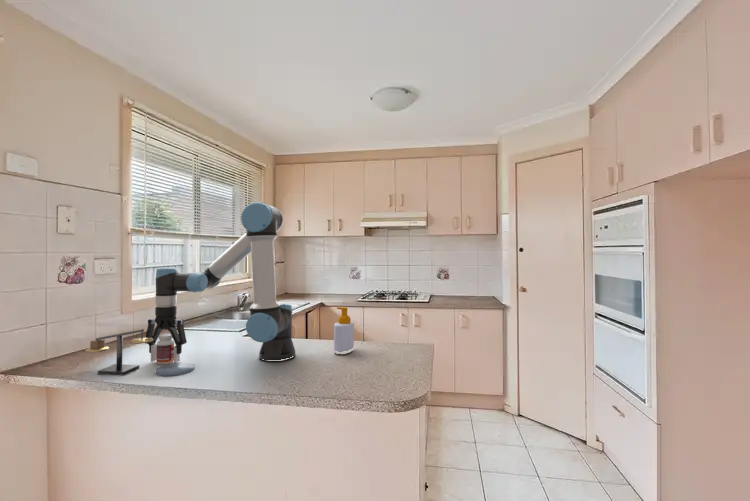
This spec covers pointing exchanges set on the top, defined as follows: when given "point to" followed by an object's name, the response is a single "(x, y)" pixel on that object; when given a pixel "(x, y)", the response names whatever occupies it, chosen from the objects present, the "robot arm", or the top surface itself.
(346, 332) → the soap bottle
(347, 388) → the top surface
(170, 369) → the dish
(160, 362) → the pill bottle
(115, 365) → the balance
